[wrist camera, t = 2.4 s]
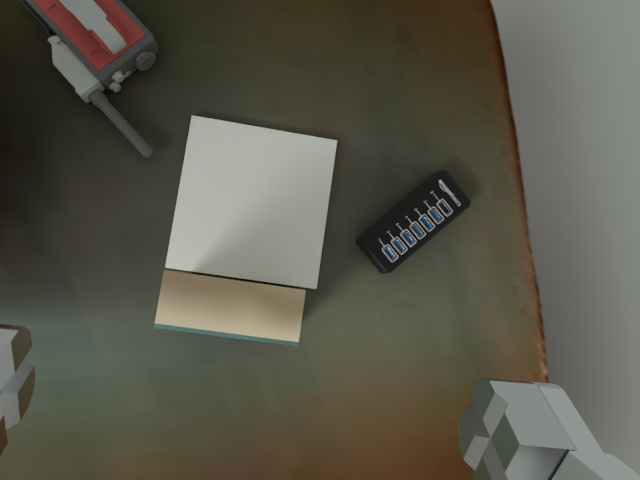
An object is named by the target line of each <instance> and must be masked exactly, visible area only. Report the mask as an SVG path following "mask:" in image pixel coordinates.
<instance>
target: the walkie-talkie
mask: <svg viewBox="0 0 640 480" xmlns="http://www.w3.org/2000/svg"><path fill="white" fill-rule="evenodd" d="M19 1H20V2H21V3H22V4H23V6H24V7H25V8H26V9H27V10H28V11H29V12H30V13H31V14H32V15H33V16H34V17H35V19H36V20H37V21H38V22H39V23H40V24H41V25H42V26H43V28H44V29H45V30H46V33H47V36H48V38H49V39H47V40H48V41H49V42H50V44H51V45H52V60H53V65H54V66H55V67H56V68H57V69H58V70H59V71H60V72H61V73H62V75H63V76H64V77H65V78H66V79H67V80H68V81H69V82H70V83H71V85H72V86H73V87H74V88H75V91H76V92H77V94H78V95H79V96H80V97H81V98H82V99H83V100H84V101H85V102H86V103H88V102H90V101H91V102H92V103H93V104H94V105H95V106H96V107H98V108H100V109H101V110H102V111H103V113H104V114H105V115H106V116H107V117H108V118H109V119H110V120H111V121H112V122H113V123H114V124H115V126H116V127H117V128H118V129H119V130H120V131H121V132H122V133H123V134H124V135H125V136H126V138H127V139H128V140H129V141H130V142H131V143H132V144H133V145H134V146H135V147H136V148H137V150H138V151H139V152H140V153H141V154H142V155H143V156H144V157H145V158H151V157H152V156H153V153H154V152H153V149H152V148H151V147H150V146H149V145H148V144H147V143H146V142H145V141H144V140H143V139H142V137H141V136H140V135H139V134H138V133H137V132H136V131H135V130H134V129H133V128H132V127H131V126H130V124H129V123H128V122H127V121H126V120H125V119H124V118H123V117H122V116H121V115H120V114H119V112H118V111H117V110H116V109H115V108H114V107H113V106H112V105H111V104H110V103H109V102H108V98H107V97H106V96H105V95H104V94H103V93H102V92H103V91H104V90H105V89H107V90H113V91H114V92H118V91H119V90H120V89H121V86H120V85H119V83H121V82H122V81H123V80H124V79H126V78H127V77H128V76H130V75H131V74H132V73H133V72H135V71H136V70H137V69H139V70H140V71H145V70H148V69H150V68H151V67H152V66H153V64H154V63H155V61H156V54H158V53H159V52H158V46H157V44H156V41H155V38H154V35H153V34H152V33H151V32H150V31H149V29H148V28H146V27H145V26H144V25H143V24H142V23H141V22H140V21H139V19H138V17H137V16H136V15H135V14H134V13H133V12H132V11H130V10H129V9H128V8H127V7H126V5H125V4H124V3H123V2H122V1H120V0H19ZM26 2H27V3H26ZM50 29H51V30H50ZM52 31H53V33H54V34H55V35H56V36H53V35H52Z"/></svg>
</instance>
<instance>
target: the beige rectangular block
mask: <svg viewBox="0 0 640 480" xmlns="http://www.w3.org/2000/svg"><path fill="white" fill-rule="evenodd" d="M305 294H306V290H302V289H294V288H287V287H280V286H273V285H266V284H259V283H252V282H245V281H238V280H231V279H224V278H217V277H210V276H203V275H196V274H189V273H182V272H175V271H168V270H164V273H163V279H162V284H161V290H160V296H159V301H158V307H157V313H156V318H155V324H154V328H159V329H167V330H175V331H182V332H190V333H198V334H205V335H213V336H221V337H228V338H236V339H244V340H251V341H259V342H267V343H274V344H282V345H290V346H297V347H298V343H299V336H300V329H301V322H302V315H303V308H304V301H305Z"/></svg>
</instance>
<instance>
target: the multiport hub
mask: <svg viewBox="0 0 640 480" xmlns="http://www.w3.org/2000/svg"><path fill="white" fill-rule="evenodd" d="M470 204H471V202H470V200H469V198H468V197H467V196H466V195H465V193H464V192H463V191H462V190H461V188H460V187H459V186H458V185H457V183H456V182H455V181H454V180H453V178H452V177H451V176H450V175H449V174H448V172H447V171H446V170H441V171H439V172H438V173H436V174H435V175H433V176H432V177H431V178H430V179H428V180H427V181H426V182H425V183H423V184H422V185H421V186H420V187H419V188H417V189H416V190H415V191H414V192H412V193H411V194H410V195H409V196H407V197H406V198H405V199H404V200H403V201H401V202H400V203H399V204H398V205H396V206H395V207H394V208H393V209H392V210H390V211H389V212H388V213H387V214H385V215H384V216H383V217H382V218H380V219H379V220H378V221H377V222H376V223H374V224H373V225H372V226H371V227H369V228H368V229H367V230H366V231H365V232H363V233H362V234H361V235H360V236H358V237H357V239H356V243H357V244H358V245H359V247H360V248H361V249H362V250H363V252H364V253H365V254H366V255H367V257H368V258H369V259H370V260H371V262H372V263H373V264H374V265H375V267H376V268H377V269H378V270H379V272H380V273H383V274H384V273H390V272H391V271H393V270H394V269H395V268H396V267H397V266H399V265H400V264H401V263H402V262H403V261H405V260H406V259H407V258H408V257H409V256H411V255H412V254H413V253H414V252H415V251H416V250H418V249H419V248H420V247H421V246H422V245H424V244H425V243H426V242H427V241H428V240H430V239H431V238H432V237H433V236H434V235H436V234H437V233H438V232H439V231H440V230H441V229H443V228H444V227H445V226H446V225H447V224H449V223H450V222H451V221H452V220H453V219H455V218H456V217H457V216H458V215H459V214H461V213H462V212H463V211H464V210H465V209H466V208H468V207H469V206H470Z"/></svg>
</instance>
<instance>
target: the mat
mask: <svg viewBox="0 0 640 480" xmlns="http://www.w3.org/2000/svg"><path fill="white" fill-rule="evenodd" d="M336 146H337V140H331V139H326V138H320V137H314V136H308V135H303V134H297V133H291V132H285V131H280V130H274V129H268V128H262V127H257V126H251V125H245V124H239V123H234V122H228V121H222V120H216V119H210V118H205V117H199V116H193V115H192V117H191V123H190V128H189V134H188V140H187V145H186V151H185V157H184V163H183V168H182V174H181V180H180V185H179V191H178V197H177V202H176V208H175V214H174V220H173V225H172V231H171V237H170V242H169V248H168V254H167V259H166V265H165V268H171V269H178V270H185V271H192V272H199V273H206V274H213V275H220V276H227V277H234V278H241V279H248V280H255V281H262V282H269V283H276V284H283V285H290V286H297V287H304V288H311V289H317V283H318V276H319V268H320V261H321V254H322V247H323V240H324V233H325V225H326V218H327V211H328V204H329V197H330V189H331V182H332V175H333V168H334V161H335V154H336Z"/></svg>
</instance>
